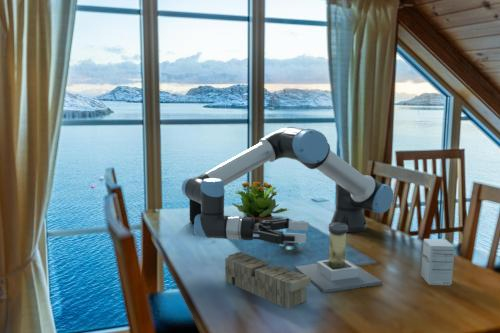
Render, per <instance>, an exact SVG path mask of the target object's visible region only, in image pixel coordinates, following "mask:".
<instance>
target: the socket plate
mask: <svg viewBox="0 0 500 333" xmlns="http://www.w3.org/2000/svg"><path fill="white" fill-rule="evenodd" d="M294 270H295V272H297V273H298V274H299V273H300V274H304V275H306V276H309V277H311V282H310V284H312V285H313V286H314V287H316V288H317V289H318V290H320V292H322V293H323V294H327V293H333V292H339V291H348V290H353V289H360V287H361V288H366V287H367V286H368V287H373V286H380V285H382V284H383V280H381V279H379V278H378V277H376V276H374V275H372V274H371V273H369V271H366V269H363V268H361V267H360V266H358V265H357V264H355V263H353V262H352V261H351V260H348V259H345V268H342V269H334V270H333V269H331V268H330V267H329V259H325V260H318V261H316V263H311V264H303V265H295V266H294Z"/></svg>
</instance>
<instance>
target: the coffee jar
mask: <svg viewBox="0 0 500 333" xmlns="http://www.w3.org/2000/svg"><path fill="white" fill-rule="evenodd" d="M188 199H189V198H188ZM198 214H201V204H200V203H198V202H196V201H194V200H191V199H189V222H190V223H191V224H192V225H194V220H195V217H196V215H198Z"/></svg>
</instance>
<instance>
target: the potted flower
mask: <svg viewBox="0 0 500 333" xmlns="http://www.w3.org/2000/svg"><path fill="white" fill-rule="evenodd" d="M241 186H242V187H243V188H242V190H243V191H242V190H239V189H238V190H237V191H235V194H236V195H240V197H241V198H240V200H241V204H240V205H239V204H236V203H233V202H231V204H232V205H233V206H234V207H236V208H237V210H238V212H240V213H243V214H246V215H248V216H249V217H253V218H254V219H255V221H259V220H272V217H273V214H279V213H283V212H287V211H289V210H291V209H290V208H289V209H288V208H286V207H281V208H279V209H276V208H277V207H278V206H279V205H280V203H279V204H278V203H277V202H276V199H275V198H273V197H274V196H276V197H277V194H278V192H279V190H280V189H277V191H274V190H276V188H277V187H276V186H273V185H272V184H271V183H268V182H266V181H264V182H263V183H262V182H260V181H254V182H252V184H250V183H249V182H248V181H246V182H244V183H241ZM244 191H245V192H244ZM247 191H248V192H247ZM270 194H271V195H270ZM275 209H276V210H275Z"/></svg>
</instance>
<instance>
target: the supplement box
mask: <svg viewBox="0 0 500 333" xmlns="http://www.w3.org/2000/svg"><path fill="white" fill-rule="evenodd" d="M422 244H423V245H422V256H421V260H422V261H421V269H420V270H421V271H420V272H421V273H420V274H421V275H420V276H421V277H422V278H423V279H424V281H425V282H426V283H427V285H430V286H451V285H450V284H453V283H452V282H453V272H454V263H455V262H454V261H455V251H456V250H455V248H456V246H454V245H453V244H452V243H451V242H450V241H449V240H447V239H445V238H423V242H422Z"/></svg>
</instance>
